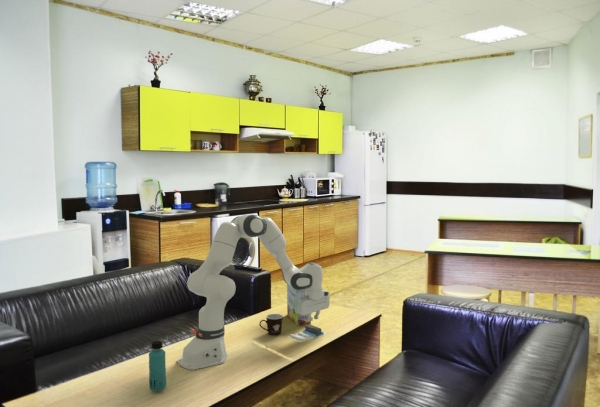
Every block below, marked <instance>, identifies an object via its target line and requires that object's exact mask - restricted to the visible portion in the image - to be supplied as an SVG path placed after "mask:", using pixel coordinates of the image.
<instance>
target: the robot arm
mask: <svg viewBox="0 0 600 407" xmlns="http://www.w3.org/2000/svg"><path fill="white" fill-rule="evenodd" d="M256 237H257V238H258V239H259V240H260V242H261V244H262V245H263V247H264V248H265V250H267V251H266V252H268V253H269V254H270V255H271V256H272V257H273V258H274V259H275V261H276V262H277V265H278V266H279V268H280V269H281V273H282V280H283V281H284V282H285V283H286V285H287V284H289V285H290V286H291V287H292V288H294V289H296V290H302V289H305V296H304V297H301V298H300V299H299V302H298V309H297V313H298V314H299V315H302V316H303V315H306V314H307V316H308V317H309V321H311V322H312V321H314V320H318V319H319V315H320V314H321V311H323V310H326V309H329V307H330V303H331V302H330V290H329V291H328V290H326V289H323V267H322V266H321V264H319V263H316V262H311V261H309V262H307V263H306V264H305V265H304V266H302V267H300V268H299V267H297V266H296V265H295V264H293V263H292V261H291V259H290V257H289V256H288V254H287V252H286V249H287V240H286V238H285V236H284V233H282V231H281V229H280V228H279V226H278V225H277V224H276V223H275V222H274V220H273V219H272V218H270V217H268V216H264V217H261V216H259V215H257V214H242V215H239V216H236V217H234V218H233V219H232V220H231V221H224V222H222V223H221V224H220V225H219V227H218V228H217V229H216V232H215V235H214V236H213V240H212V241H211V242H212V243H211V246H210V248H209V252H208V254H207V255H206V256H207V257H206V258H205V259H204V262H203V263H202V264H201V265H200V267H198V269H197V270H195V271H193V272H192V273H190V275H189V276H188V279H187V282H186V286H187V289H188V290H189V292H192V293H194V294H195V295H198V296H200V297H205V298H206V303H205V305H204V306H202V307H201V308H200V309H199V311H198V328H197V329H196V328H195V329H194V328H192V329H191V330H190V333H191V334H192V335H195V336H194V337H193V338H192V339H191V340H190V341H189V342H188V343H187V344H186V345H185V346H184V347H183V350H182V356H180V357H178V358H177V362H176V363H177V364H178V365H179V366H180V367H182V368H183V369H186V370H190V371H194V370H199V368H200V369H205V368H208V367H212V366H216V365H220V364H224V363H225V360H226V359H227V357H228V353H227V350H226V346H225V345H226V344H225V331H226V330H225V324H224V316H225V314H224V313H225V308H226V305H227V303H228V301H229V300H231V299H232V297H234V295H235V294H236V288H237V286H236V283H235V281H234V279H232V278H230V277H228V276H226V275H221V274H220V273H222V271H223V270H224V269H225V268H228V267H229V266H230V265H231V264H232V260H233V257H234V254H235V252H236V248H237V244H238V242H239V240H240V239H242V238H244V239H251V238H256ZM312 313H315V314H314V315H313V314H312ZM312 315H313V316H314V317H313V316H312ZM313 319H314V320H313Z"/></svg>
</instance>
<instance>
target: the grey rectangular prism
mask: <svg viewBox="0 0 600 407" xmlns="http://www.w3.org/2000/svg"><path fill="white" fill-rule="evenodd" d="M304 326H305V327H304V328H305V329H304V330H306V331H308V332H311V333H313V334H316V336H318V335H321V331H322V328H321V327H318V326H315V325H312V324H306V325H304ZM321 336H322V335H321ZM318 337H319V336H318Z"/></svg>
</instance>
